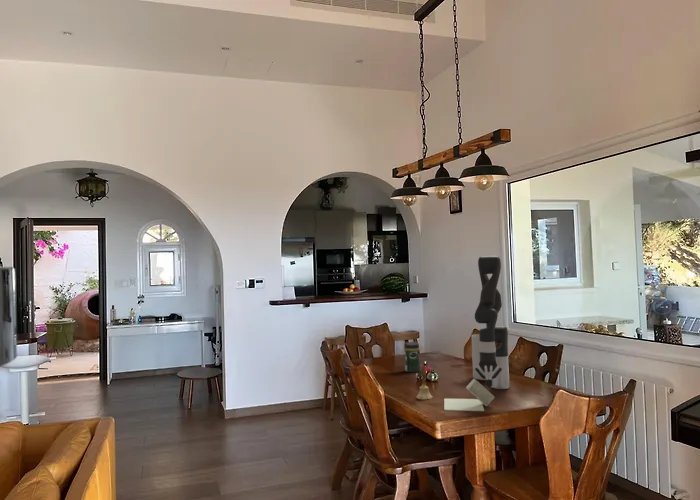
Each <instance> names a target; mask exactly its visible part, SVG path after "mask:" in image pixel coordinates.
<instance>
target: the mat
mask: <svg viewBox="0 0 700 500" xmlns="http://www.w3.org/2000/svg"><path fill="white" fill-rule="evenodd" d="M443 405H444V406H443V407H444V408H443V409H444V411H453V412H454V411H456V412H457V411H458V412H459V411H460V412H465V411H467V412H485V409H484V404H483V403H482V402H481V401H480V400H478V399H477V398H444V399H443Z"/></svg>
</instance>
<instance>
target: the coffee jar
mask: <svg viewBox="0 0 700 500" xmlns="http://www.w3.org/2000/svg"><path fill="white" fill-rule="evenodd" d="M403 346H404V347H403V348H404V352H405V363H404V370H405V372H407V373H418V372H421V363H420V356H419V352H420V345H419V343H418V342H417V341H410V342H405V343H404V345H403Z"/></svg>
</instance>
